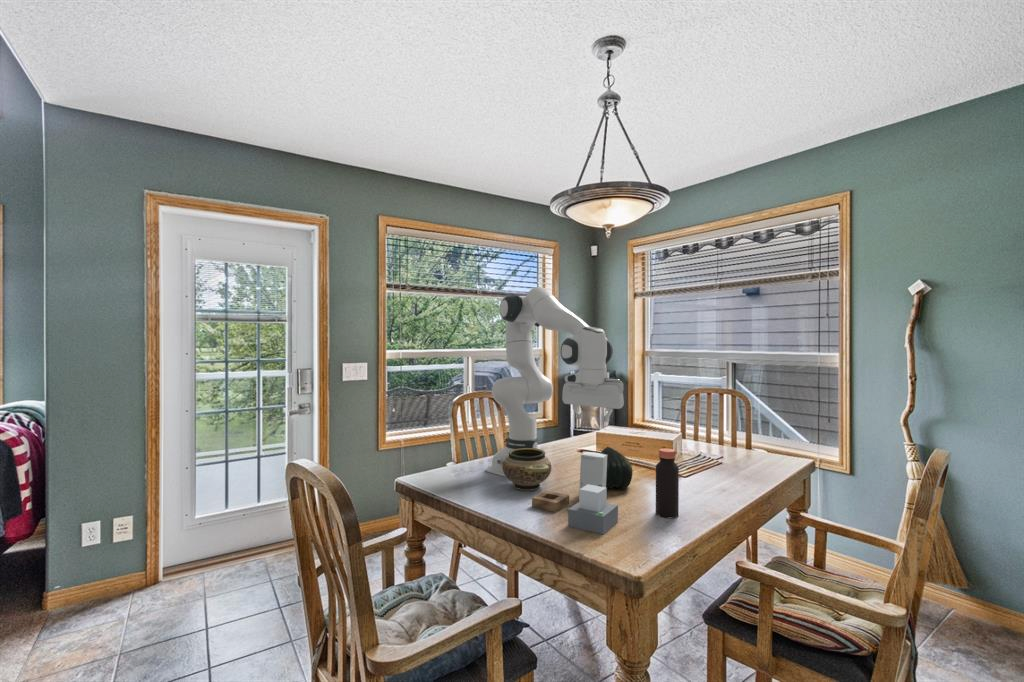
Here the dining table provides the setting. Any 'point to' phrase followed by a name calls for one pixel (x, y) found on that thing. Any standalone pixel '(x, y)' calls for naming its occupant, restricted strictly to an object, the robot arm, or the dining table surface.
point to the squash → (617, 469)
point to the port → (593, 518)
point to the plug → (592, 497)
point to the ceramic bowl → (526, 468)
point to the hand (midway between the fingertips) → (592, 420)
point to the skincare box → (593, 469)
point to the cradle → (550, 501)
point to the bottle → (667, 484)
